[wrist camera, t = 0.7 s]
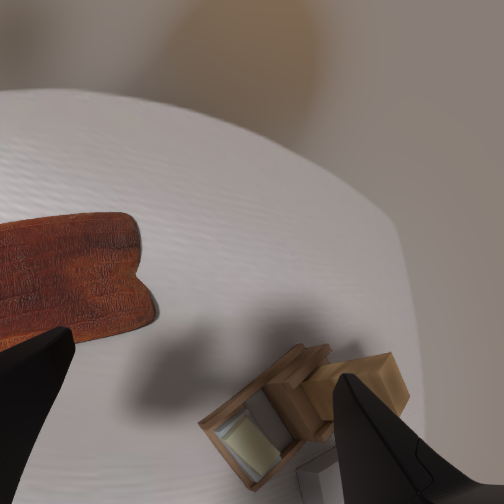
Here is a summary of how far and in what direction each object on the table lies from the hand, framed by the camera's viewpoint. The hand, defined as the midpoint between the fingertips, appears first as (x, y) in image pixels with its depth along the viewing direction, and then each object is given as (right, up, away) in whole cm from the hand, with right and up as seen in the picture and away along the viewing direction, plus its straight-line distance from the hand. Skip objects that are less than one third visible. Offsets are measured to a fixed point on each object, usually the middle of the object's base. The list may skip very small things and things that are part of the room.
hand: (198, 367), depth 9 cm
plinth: (+10, -22, +15) cm, 28 cm away
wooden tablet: (-18, +1, +7) cm, 19 cm away
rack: (+4, -11, +17) cm, 20 cm away
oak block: (+8, -9, +16) cm, 20 cm away
